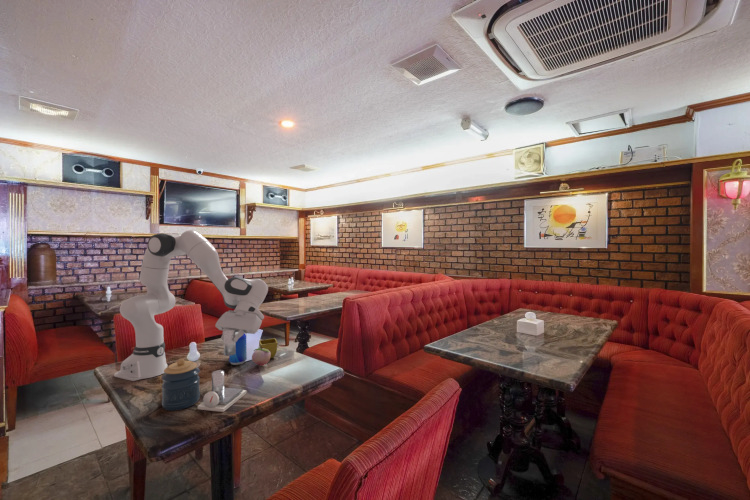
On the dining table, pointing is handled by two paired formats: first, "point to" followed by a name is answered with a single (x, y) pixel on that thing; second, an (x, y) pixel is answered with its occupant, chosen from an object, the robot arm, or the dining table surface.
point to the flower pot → (269, 346)
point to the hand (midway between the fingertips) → (228, 340)
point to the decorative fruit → (261, 356)
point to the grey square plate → (229, 395)
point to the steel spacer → (229, 342)
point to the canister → (180, 385)
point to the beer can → (239, 351)
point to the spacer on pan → (218, 383)
